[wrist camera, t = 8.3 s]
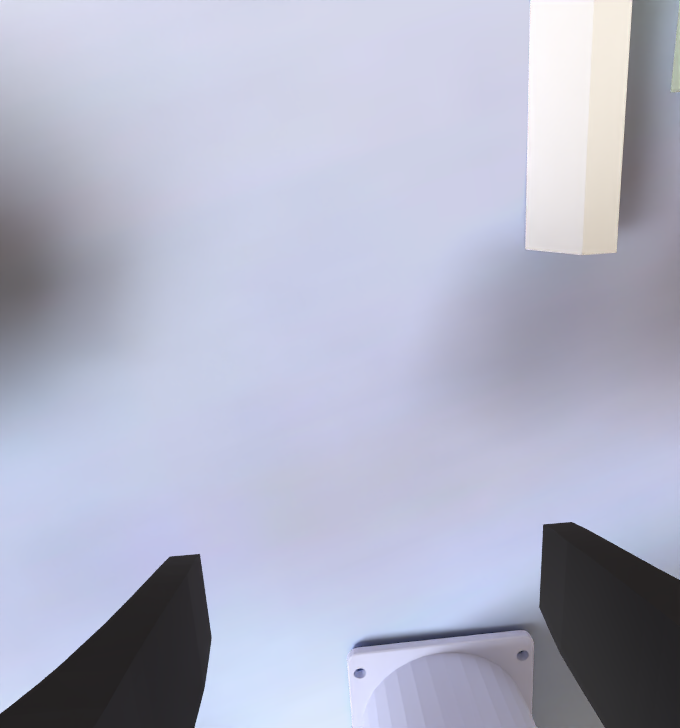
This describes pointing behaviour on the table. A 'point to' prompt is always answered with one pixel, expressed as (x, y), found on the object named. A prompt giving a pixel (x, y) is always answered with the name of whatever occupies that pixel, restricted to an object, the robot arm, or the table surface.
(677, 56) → the green tile
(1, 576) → the table surface
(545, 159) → the bin
